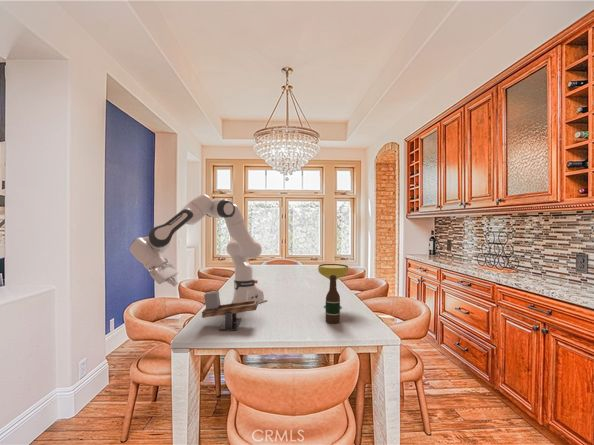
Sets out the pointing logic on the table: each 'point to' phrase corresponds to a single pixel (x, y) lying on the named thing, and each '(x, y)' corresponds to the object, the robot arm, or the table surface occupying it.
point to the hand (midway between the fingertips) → (176, 285)
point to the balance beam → (232, 308)
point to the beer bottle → (332, 302)
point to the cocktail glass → (333, 271)
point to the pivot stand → (230, 322)
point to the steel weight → (212, 300)
